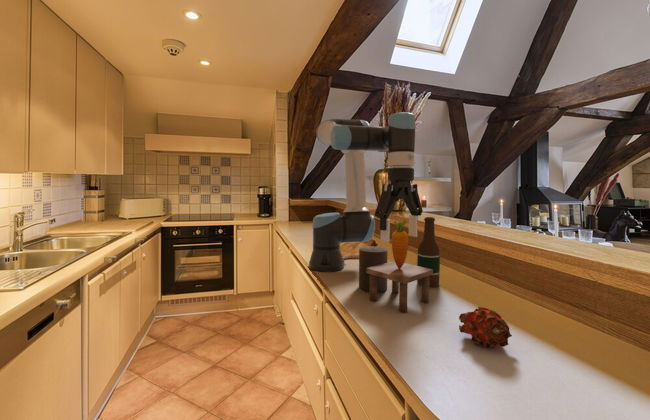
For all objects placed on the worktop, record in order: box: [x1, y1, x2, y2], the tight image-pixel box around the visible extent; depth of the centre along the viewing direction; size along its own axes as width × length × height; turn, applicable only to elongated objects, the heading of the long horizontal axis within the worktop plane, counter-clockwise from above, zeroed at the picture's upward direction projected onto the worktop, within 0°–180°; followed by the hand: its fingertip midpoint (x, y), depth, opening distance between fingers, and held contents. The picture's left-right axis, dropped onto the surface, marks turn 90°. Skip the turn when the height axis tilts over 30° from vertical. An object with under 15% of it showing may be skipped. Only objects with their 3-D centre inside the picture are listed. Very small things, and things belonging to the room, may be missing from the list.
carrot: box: [391, 219, 410, 269], centre depth 91 cm, size 5×5×15 cm
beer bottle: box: [416, 216, 441, 289], centre depth 107 cm, size 8×8×24 cm
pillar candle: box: [358, 245, 389, 294], centre depth 104 cm, size 10×10×15 cm
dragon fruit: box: [458, 306, 513, 349], centre depth 67 cm, size 8×8×12 cm
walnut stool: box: [366, 260, 433, 314], centre depth 92 cm, size 14×14×10 cm
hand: (399, 238), depth 91 cm, fingers open, 13 cm apart
